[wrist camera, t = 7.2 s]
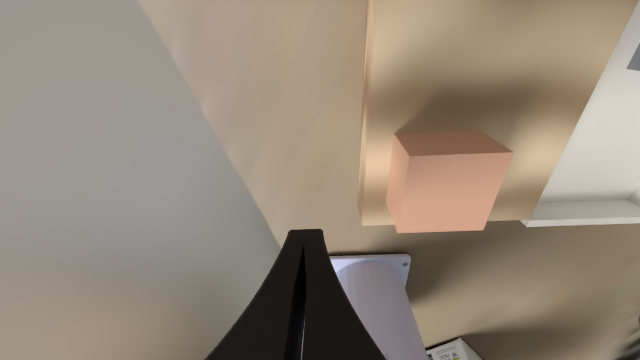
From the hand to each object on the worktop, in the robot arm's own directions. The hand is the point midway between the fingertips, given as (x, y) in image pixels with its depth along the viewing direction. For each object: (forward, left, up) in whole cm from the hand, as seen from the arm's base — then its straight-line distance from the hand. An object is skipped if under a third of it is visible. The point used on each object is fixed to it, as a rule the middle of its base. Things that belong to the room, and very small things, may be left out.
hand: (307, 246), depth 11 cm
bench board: (+3, -10, -9) cm, 13 cm away
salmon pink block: (0, -8, -6) cm, 10 cm away
